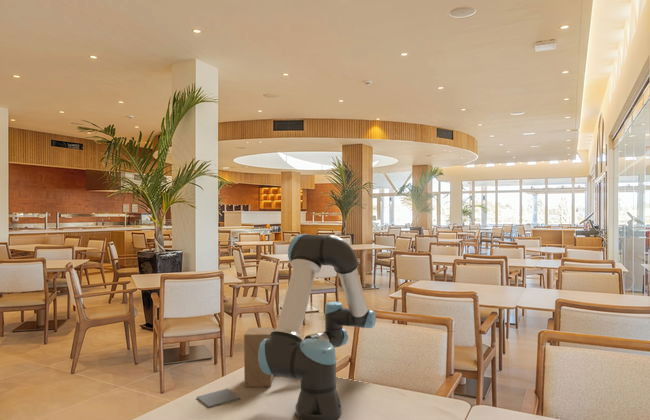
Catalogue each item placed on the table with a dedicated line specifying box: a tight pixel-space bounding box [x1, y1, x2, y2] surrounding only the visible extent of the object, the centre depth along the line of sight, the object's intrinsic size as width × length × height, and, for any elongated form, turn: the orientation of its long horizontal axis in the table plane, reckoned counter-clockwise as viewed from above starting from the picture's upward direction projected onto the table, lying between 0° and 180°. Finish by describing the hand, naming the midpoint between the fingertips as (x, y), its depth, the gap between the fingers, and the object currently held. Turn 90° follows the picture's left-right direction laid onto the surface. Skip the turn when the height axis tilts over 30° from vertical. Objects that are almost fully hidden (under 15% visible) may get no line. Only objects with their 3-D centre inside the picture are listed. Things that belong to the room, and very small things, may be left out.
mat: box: [196, 387, 241, 409], centre depth 166 cm, size 10×12×1 cm
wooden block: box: [243, 327, 275, 388], centre depth 181 cm, size 10×10×20 cm
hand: (272, 353), depth 185 cm, fingers open, 13 cm apart
